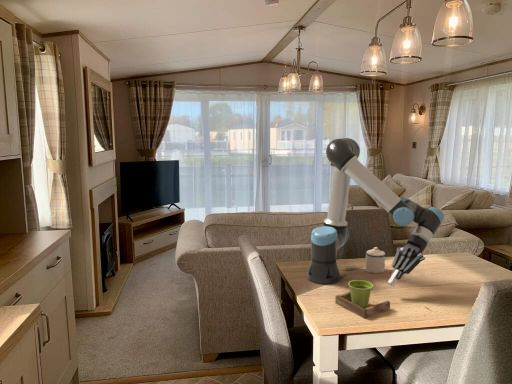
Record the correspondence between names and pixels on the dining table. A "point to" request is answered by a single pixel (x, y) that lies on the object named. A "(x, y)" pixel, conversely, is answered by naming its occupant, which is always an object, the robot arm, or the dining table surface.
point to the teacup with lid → (375, 260)
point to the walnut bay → (344, 302)
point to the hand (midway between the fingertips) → (390, 284)
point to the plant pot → (360, 292)
